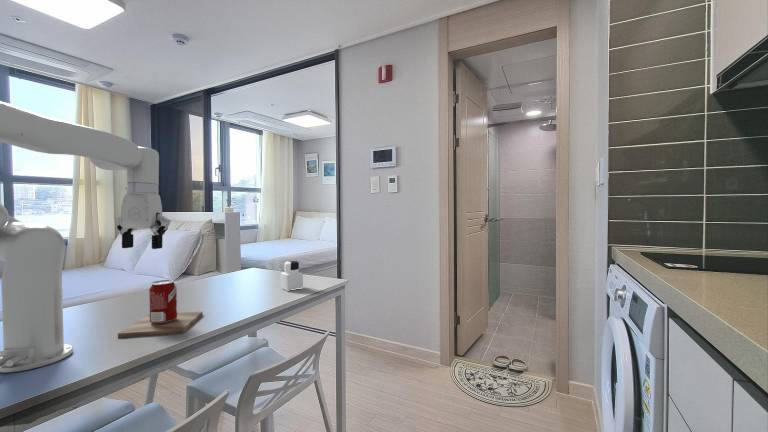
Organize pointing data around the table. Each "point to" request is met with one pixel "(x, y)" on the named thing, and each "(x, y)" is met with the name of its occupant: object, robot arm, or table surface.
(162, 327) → the walnut board
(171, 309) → the soda can
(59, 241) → the robot arm
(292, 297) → the table surface
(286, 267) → the white security camera
